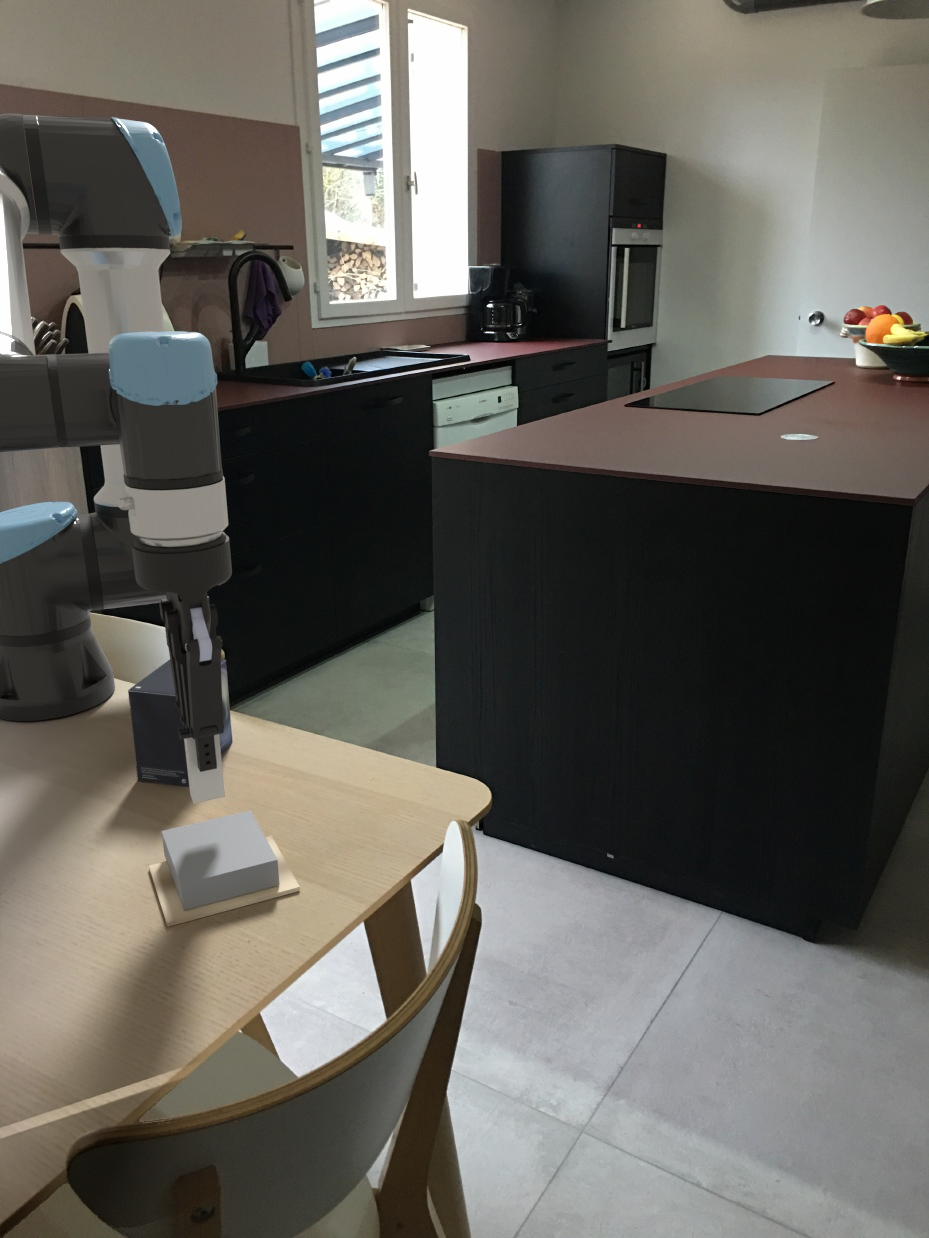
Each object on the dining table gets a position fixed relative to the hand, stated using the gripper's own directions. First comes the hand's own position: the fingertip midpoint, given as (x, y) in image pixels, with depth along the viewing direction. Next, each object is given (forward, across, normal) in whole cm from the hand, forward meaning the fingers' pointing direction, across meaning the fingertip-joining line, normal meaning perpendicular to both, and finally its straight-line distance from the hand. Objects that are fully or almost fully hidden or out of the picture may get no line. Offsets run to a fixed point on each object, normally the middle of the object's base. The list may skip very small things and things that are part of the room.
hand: (207, 796), depth 85 cm
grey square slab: (+5, -2, 0) cm, 5 cm away
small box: (+7, -20, +2) cm, 21 cm away
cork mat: (+6, +4, 0) cm, 7 cm away
